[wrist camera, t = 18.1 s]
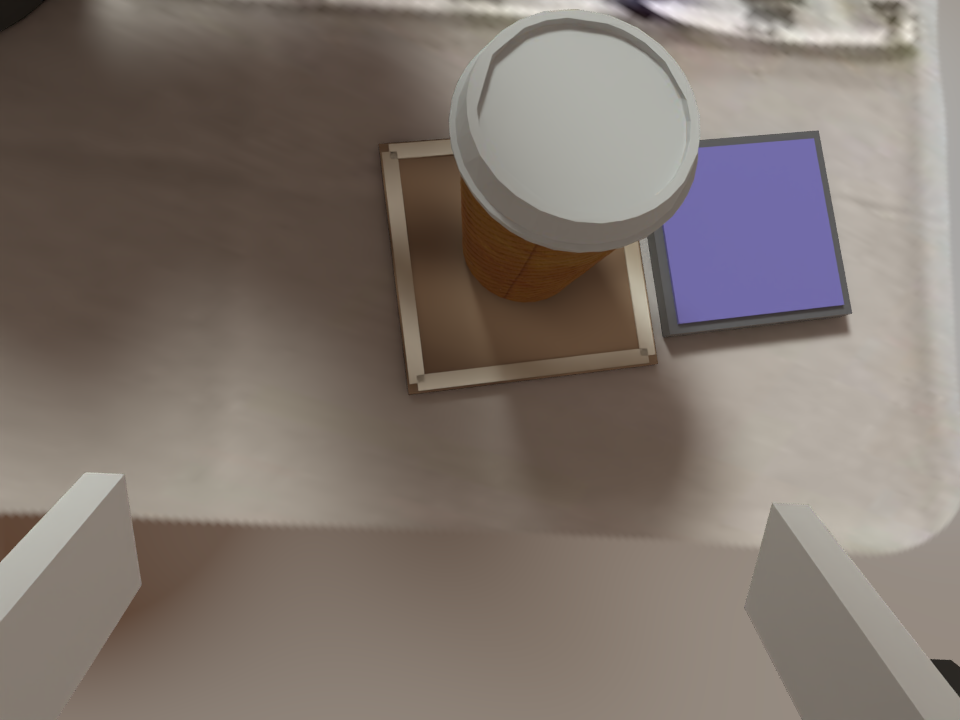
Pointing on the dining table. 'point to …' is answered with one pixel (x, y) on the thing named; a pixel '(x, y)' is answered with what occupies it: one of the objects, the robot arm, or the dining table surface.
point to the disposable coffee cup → (567, 148)
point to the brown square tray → (485, 316)
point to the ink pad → (751, 239)
